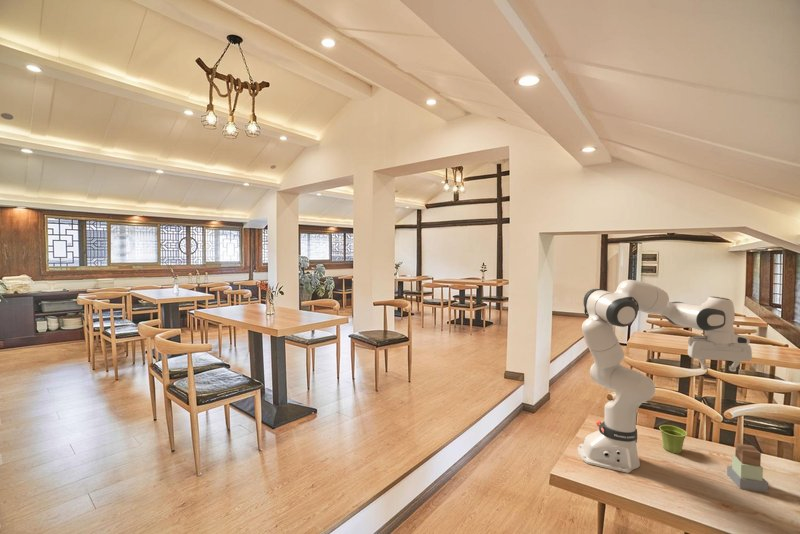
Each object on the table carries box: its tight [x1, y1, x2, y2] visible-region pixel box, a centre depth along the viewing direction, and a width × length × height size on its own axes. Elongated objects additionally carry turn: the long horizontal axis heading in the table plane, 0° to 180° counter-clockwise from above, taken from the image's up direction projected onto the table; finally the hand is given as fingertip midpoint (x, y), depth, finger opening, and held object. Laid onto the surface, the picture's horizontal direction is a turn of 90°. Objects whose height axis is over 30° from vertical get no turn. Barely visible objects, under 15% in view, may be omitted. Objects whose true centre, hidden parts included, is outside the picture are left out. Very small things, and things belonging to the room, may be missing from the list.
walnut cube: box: [734, 442, 762, 466], centre depth 129 cm, size 5×5×5 cm
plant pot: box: [659, 424, 688, 454], centre depth 152 cm, size 9×9×9 cm
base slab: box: [726, 465, 769, 494], centre depth 130 cm, size 8×8×4 cm
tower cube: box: [731, 454, 764, 481], centre depth 129 cm, size 6×6×5 cm
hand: (718, 370), depth 143 cm, fingers open, 8 cm apart
